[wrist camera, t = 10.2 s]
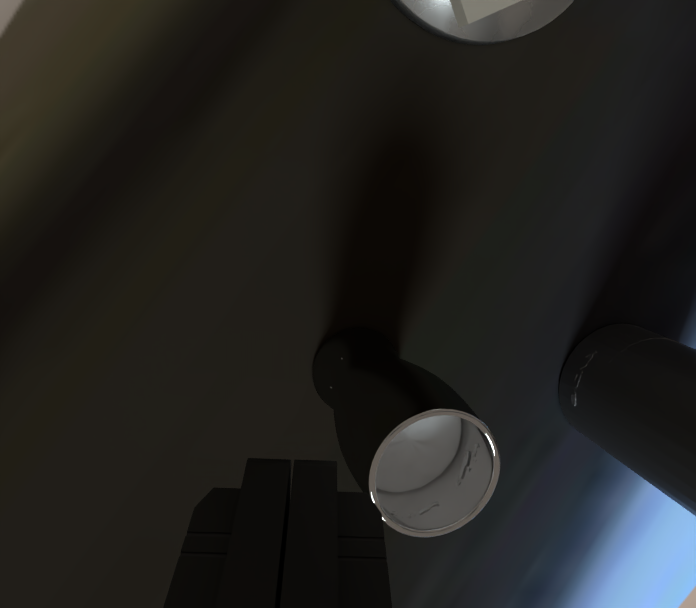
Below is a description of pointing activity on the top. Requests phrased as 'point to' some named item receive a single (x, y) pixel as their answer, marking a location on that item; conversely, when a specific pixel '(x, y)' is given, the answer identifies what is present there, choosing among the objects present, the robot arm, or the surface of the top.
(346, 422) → the beer glass
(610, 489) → the top surface
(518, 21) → the base
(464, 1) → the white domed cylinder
